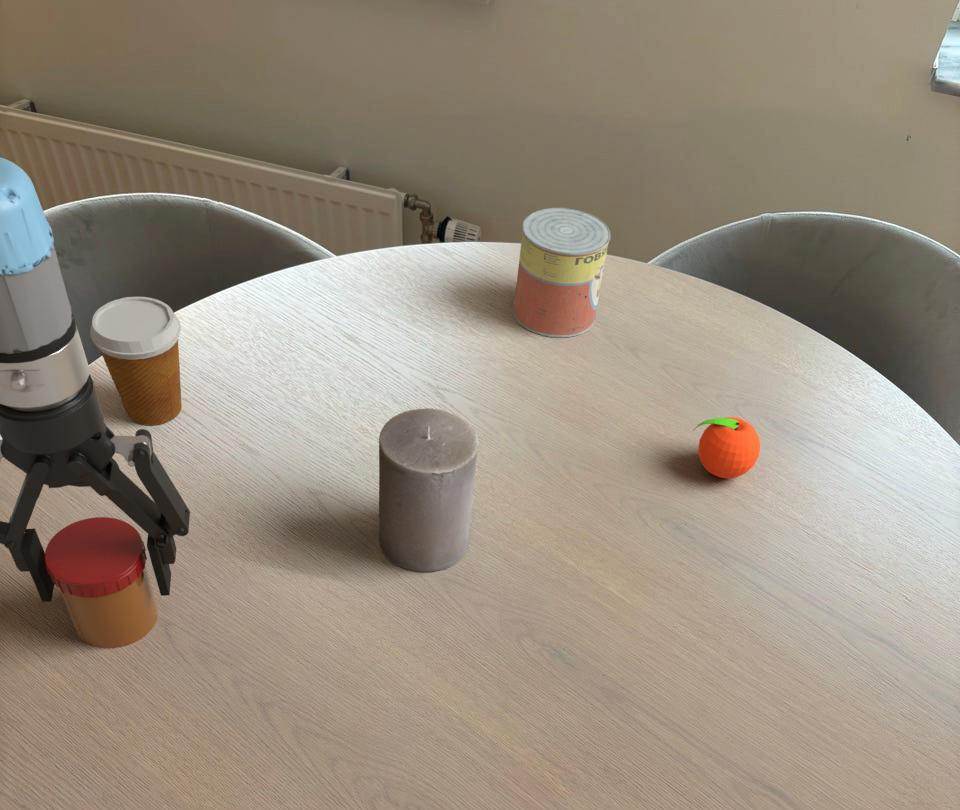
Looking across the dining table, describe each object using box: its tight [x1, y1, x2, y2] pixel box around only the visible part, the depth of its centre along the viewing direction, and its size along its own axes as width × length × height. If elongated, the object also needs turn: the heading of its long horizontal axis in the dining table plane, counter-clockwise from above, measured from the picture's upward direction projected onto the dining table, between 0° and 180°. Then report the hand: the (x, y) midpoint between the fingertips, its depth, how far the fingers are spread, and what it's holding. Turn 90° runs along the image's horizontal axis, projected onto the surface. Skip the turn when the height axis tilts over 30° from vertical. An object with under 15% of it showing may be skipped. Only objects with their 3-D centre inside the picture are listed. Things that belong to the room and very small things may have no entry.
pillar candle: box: [378, 408, 479, 573], centre depth 99 cm, size 10×10×15 cm
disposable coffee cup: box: [89, 296, 182, 426], centre depth 111 cm, size 10×10×12 cm
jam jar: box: [58, 564, 159, 649], centre depth 90 cm, size 8×8×10 cm
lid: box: [44, 516, 148, 598], centre depth 87 cm, size 8×8×2 cm
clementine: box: [692, 416, 761, 479], centre depth 113 cm, size 8×7×7 cm
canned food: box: [512, 207, 611, 339], centre depth 129 cm, size 11×11×12 cm
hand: (108, 587), depth 90 cm, fingers open, 10 cm apart
